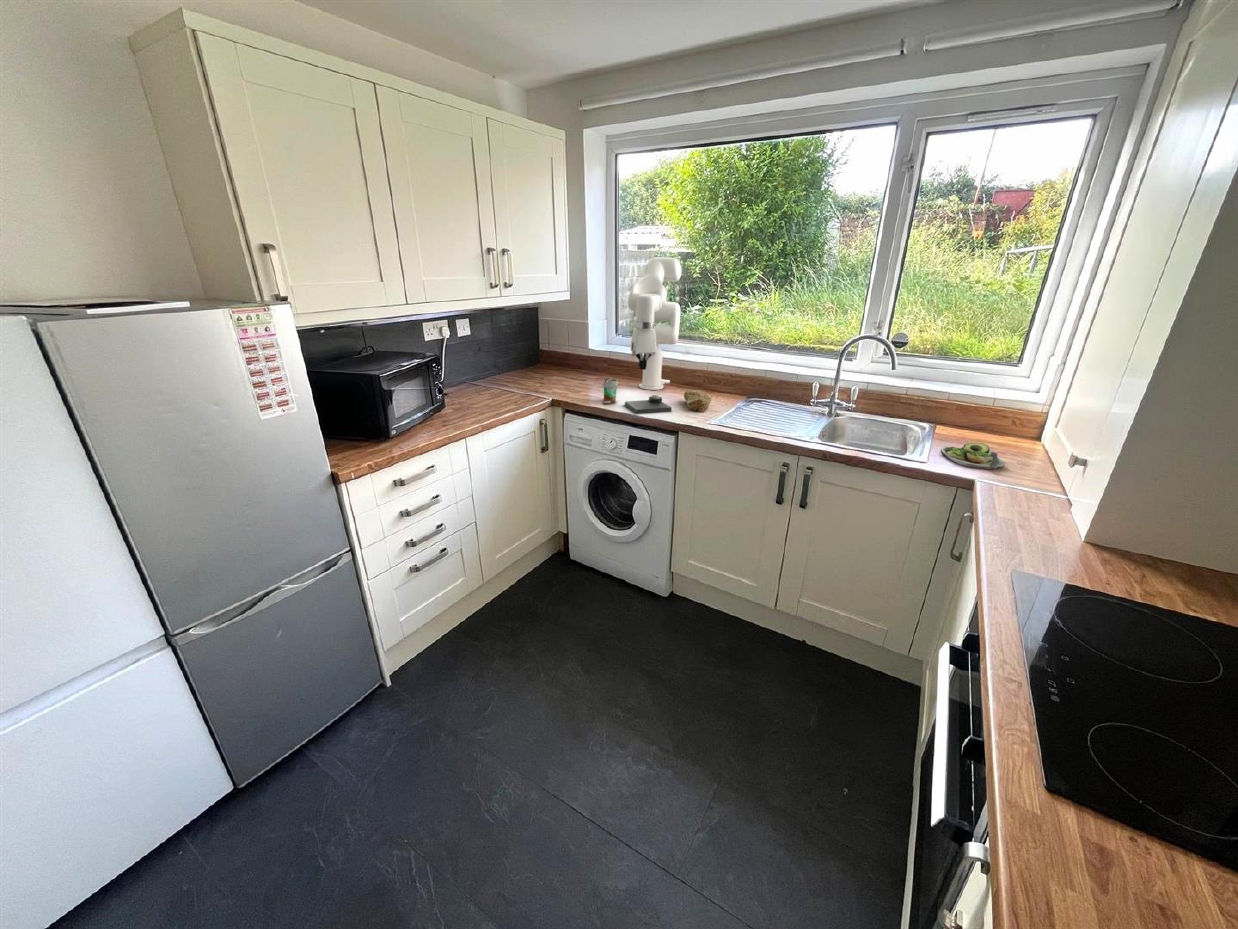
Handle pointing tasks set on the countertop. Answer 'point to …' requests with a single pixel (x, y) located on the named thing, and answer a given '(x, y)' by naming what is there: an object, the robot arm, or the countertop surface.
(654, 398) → the scale button
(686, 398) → the mossy rock
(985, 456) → the salad plate
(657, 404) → the scale
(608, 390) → the food container
